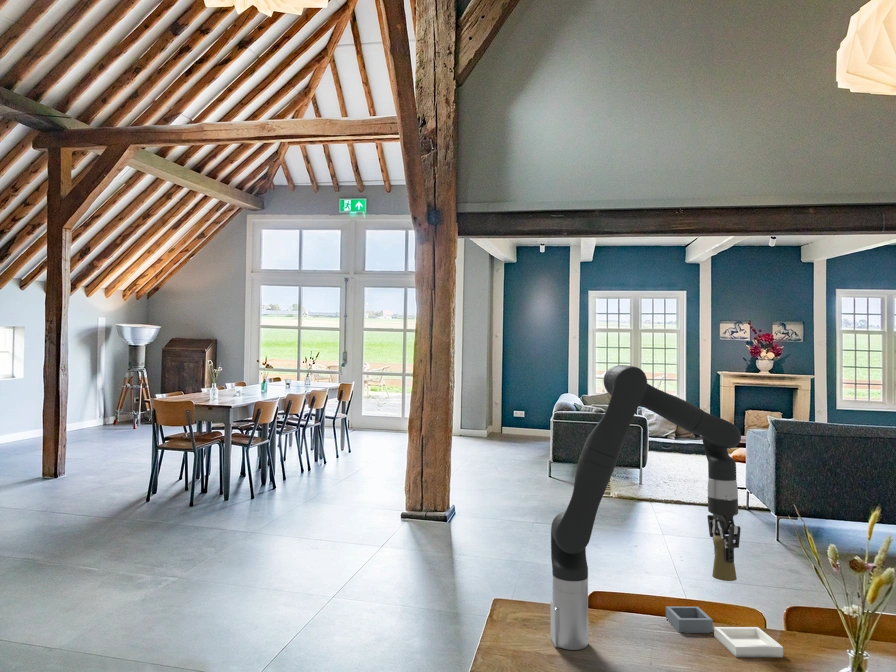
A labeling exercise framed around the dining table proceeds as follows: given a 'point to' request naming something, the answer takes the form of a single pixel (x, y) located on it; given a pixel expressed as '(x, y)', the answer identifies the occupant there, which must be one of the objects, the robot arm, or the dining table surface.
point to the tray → (748, 642)
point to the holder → (689, 619)
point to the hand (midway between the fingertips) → (724, 558)
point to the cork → (722, 562)
